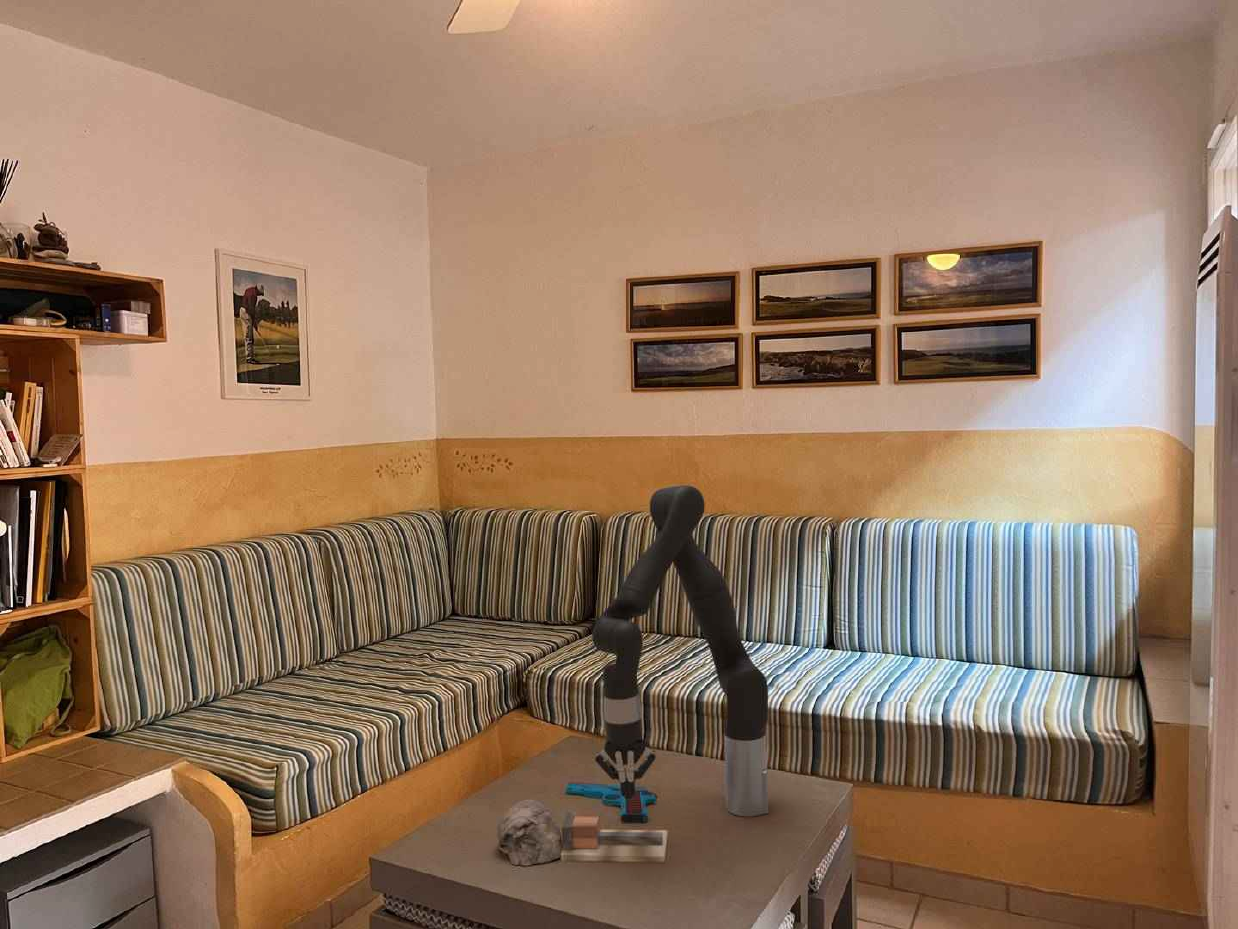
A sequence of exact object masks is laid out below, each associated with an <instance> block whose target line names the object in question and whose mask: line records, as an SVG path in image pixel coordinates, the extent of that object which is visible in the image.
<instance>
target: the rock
mask: <svg viewBox="0 0 1238 929" xmlns="http://www.w3.org/2000/svg"><path fill="white" fill-rule="evenodd" d="M554 816H555V815H554V813H553V812H552V810H551V809H550V808H548V807H547V806H546V805H545V804H543V803H541V802H539V801H537V800H533V799H523V800H520V801H519V802H517V803H516V804H514V805H512V806H511V807H510V808H508V811H507V812H506V813H505V814H503V816H502V817H501V819H500V821H499V822H498V824H497V838H498V846H497V849H498V850H499V851H500V852H501V851H502V852H503V854H507V855H508V857H509V859H510V863H511V865H516V866H517V865H521V866H527V867H528V866H531V865H534V864H535V865H537V864H543V863H548V862H551V861H553V860H555V859H559V858H561V853H562V850H563V842H562V832H561V829H560V827H559V824H558V822H557V820H556V819H555V817H554Z"/></svg>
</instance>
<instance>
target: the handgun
mask: <svg viewBox="0 0 1238 929" xmlns="http://www.w3.org/2000/svg"><path fill="white" fill-rule="evenodd" d="M565 793H566V794H569V795H570V794H571V795H581V796H583V797H584V798H594V799H602V803H603V804H605V805H612V806H617V807H620V814H621V815H620V821H622V822H623V823H641V824H642V823H644V824H645V823H647V822H648V821H649V818H648V817H649V816H648V811H647V805H649V804H653V803H656V802H657V799H658V795H657V794H656V793H654V792H651V791H650V790H649V787H647V786H646V787H645V786H635V795H634V796H632V799H625V796H622V795H621V784H605V783H593V782H580V781H569V782H568V783H567V786H566V787H565Z"/></svg>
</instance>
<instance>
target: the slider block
mask: <svg viewBox="0 0 1238 929" xmlns="http://www.w3.org/2000/svg"><path fill="white" fill-rule="evenodd" d="M601 830H602V829H601V814H600V813H591V812H590V813H589V812H588V813H586V812H585V813H583V812H582V813H581V812H580V813H578V812H577V813H576V816H575V819H574V822H573V824H572V839H573V848H597V847H598V832H601Z"/></svg>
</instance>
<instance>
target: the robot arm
mask: <svg viewBox="0 0 1238 929" xmlns="http://www.w3.org/2000/svg"><path fill="white" fill-rule="evenodd" d="M704 499H705V498H704V496H703V494H702V493H701V491H700V490H699V488H696V487H695V486H692V485H678V486H677V485H675V486H670V487H665V488H660V489H657V490H656V491H655V492H653V494H652V495H651V497H650V501H649V513H650V516H651V518H652V519H651V520H652V522H653V524H654V526H655V528H656V530H657V532H658V534H657V537H656V538H655V539H654V541H653V542H652V544H650V546H648V548H647V549H646V550H645V551H644V552H643V554H641V556H640V557H639V558H638V559H637V560H636V561H635V563H634V564H633V566H632V567H631V569H630V570H629V572H628V573H627V576H626V578H625V579H624V581H623V584H622V586H621V588H620V590H619V592H618V595H617V596H616V597H615V598H614V599H613V600H612V601H611V602H610V604H609V605H608V606H607V608H606V609H605V610H604V611H603V612H602V613H601V615H600V616H599V617H598V618H597V621H595V624H594V627H593V629H592V636H591V637H592V638H591V640H592V643H593V645H594V647H595V649H597V650H598V651H600V652H603V653H605V654H606V653H607V654H612V655H616V656H615V658H616V659H615V663H611V664H609V665H606V666H605V668H604V669H603V672H602V684H603V718H604V728H605V744H604V746H603V749H602V750H601V751H598V752H596V755H595V758H594V759H595V762H596V763H597V764H598V766H599V767H601V769H602V770H603V771H604V772H605V773H606V775H607V776H608V777H609V778H610V779H611V780H613V781H615V780H617V781H619V782H620V784H619V785H621V795H622V796H625V799H632V796H634V795H635V787H636V780H638V779H639V780H640V779H642V778H643V777H644V775H645V774H646V772H647V771H648V770H649V768H650V767H651V765H652V764H653V763H654V761H655V760H656V756H657V755H656V754H657V753H656V750H655V749H652V750H651V749H649V748H647V745H646V742H645V741H644V736H643V735H644V734H643V723H642V722H643V721H642V709H641V708H642V707H641V701H640V694H639V684H638V682H639V681H638V670H639V666H640V662H641V656H642V651H643V650H642V649H643V644H644V639H643V634H642V631H641V629H640V627H639V625H638V624H636V623H635V622H634V621H631V620H632V619H634V618H637V617H643V616H645V615H646V614H647V613H648V611H650V608H651V606H652V603H653V601H654V599H655V597H656V596H657V594H658V590H659V589H660V587H661V584H662V582H663V580H664V578H665V576H666V575H667V573H668V571H669V569H670V568H671V566H672V565H674V568H675V570H676V573H677V575H678V578H679V580H680V582H681V585H682V588H683V590H684V593H685V597H686V599H687V601H688V604H689V607H690V609H691V612H692V614H693V616H694V618H695V619H694V620H695V621H696V623H697V626H698V627H699V630H700V631H701V633H702V635H703V637H704V639H705V641H706V643H707V645H708V647H709V650H710V653H711V657H712V661H713V664H714V667H715V672H716V675H717V680H718V683H719V687H720V688H721V691H722V692H723V693H724V695H725V696H726V719H724V721H723V740H724V741H723V742H724V743H723V744H724V746H723V747H724V771H725V772H724V774H725V779H724V780H725V802H726V803H725V804H726V806H725V807H726V810H727V812H729V813H730V814H733V815H734V816H735V815H736V816H739V817H747V818H749V817H757V816H760V815H761V816H762V815H764V814H765V815H768V814H769V789H768V786H769V785H768V768H767V741H766V739H767V738H766V736H767V735H766V733H767V732H766V731H767V730H766V729H767V728H766V727H767V724H768V721H769V690H768V688H769V686H768V682H767V678H766V676H765V674H764V673H763V672H762V671H761V670H760V669H759V668H758V667H757V666H756V665H755V664H754V663H753V661H752V660H751V658H750V656H749V653H748V652H747V650H746V647H745V645H744V644H743V641H742V639H741V635H740V634H739V629H738V624H737V623H738V622H737V615H736V610H735V604H734V600H733V597H732V595H731V592H730V590H729V587H728V584H727V582H726V579H725V577H724V576H723V575H724V574H722V572H721V570H720V569H719V568H718V566H717V565H716V564H715V563H713V561H712V559H710V557H708V556H707V554H705V552H704V551H703V550H702V549H701V548H700V546H699V545H698V544H697V542H696V540H695V538H694V536H693V533H694V531H695V530H696V528H697V527H698V525H699V523H700V522H701V520H702V518H703V516H704V514H705V504H706V503H705V500H704ZM643 754H644V755H643ZM642 756H643V761H642V763H641V764H640V765H639V767H638V768H637V769H636V768H635V766H636V765H635V764H636V763H638V762H639V760H640V758H641V757H642ZM609 758H610V760H612V762H610V761H609ZM612 763H614V764H615V765H616V767H617V769H616V767H614V765H613V764H612ZM626 766H627V770H626ZM635 769H636V770H635Z"/></svg>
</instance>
